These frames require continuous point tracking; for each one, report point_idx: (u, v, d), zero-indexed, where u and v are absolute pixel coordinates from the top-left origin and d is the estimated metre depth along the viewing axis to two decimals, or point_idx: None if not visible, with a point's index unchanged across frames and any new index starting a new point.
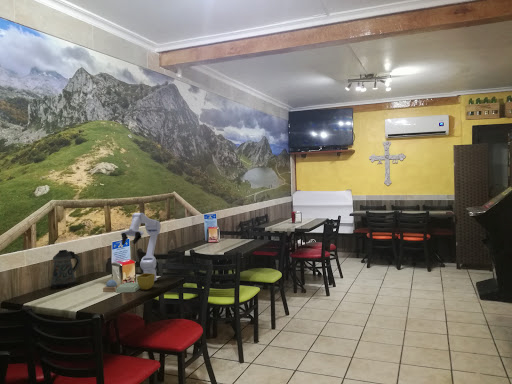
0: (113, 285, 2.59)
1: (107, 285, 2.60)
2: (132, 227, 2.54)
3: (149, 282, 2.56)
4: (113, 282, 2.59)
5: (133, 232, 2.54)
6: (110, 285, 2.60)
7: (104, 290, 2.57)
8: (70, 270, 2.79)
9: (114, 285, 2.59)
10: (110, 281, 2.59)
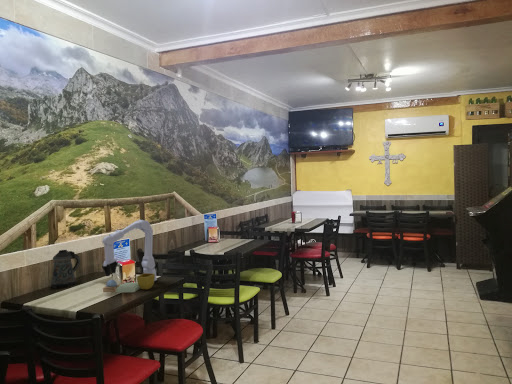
0: (113, 285, 2.59)
1: (107, 285, 2.60)
2: None
3: (149, 282, 2.56)
4: (113, 282, 2.59)
5: None
6: (110, 285, 2.60)
7: (104, 290, 2.57)
8: (70, 270, 2.79)
9: (114, 285, 2.59)
10: (110, 281, 2.60)
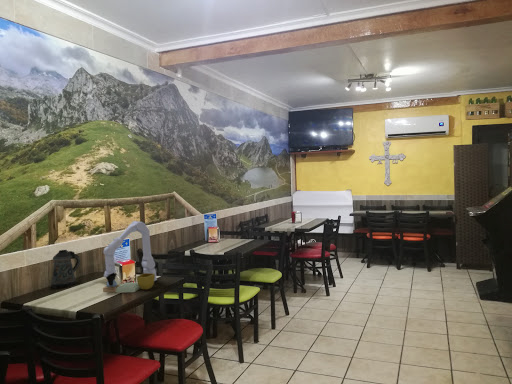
0: (113, 285, 2.59)
1: (107, 285, 2.60)
2: None
3: (149, 282, 2.56)
4: (113, 282, 2.59)
5: None
6: None
7: (104, 290, 2.57)
8: (70, 270, 2.79)
9: (114, 285, 2.59)
10: None
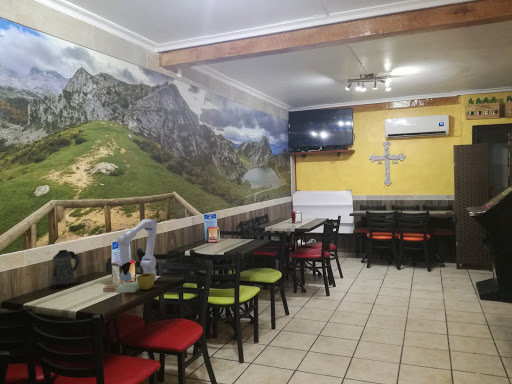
0: (127, 276, 2.58)
1: (121, 276, 2.58)
2: None
3: (149, 282, 2.56)
4: (128, 273, 2.58)
5: None
6: (124, 276, 2.58)
7: (104, 290, 2.57)
8: (70, 270, 2.79)
9: (128, 276, 2.58)
10: None
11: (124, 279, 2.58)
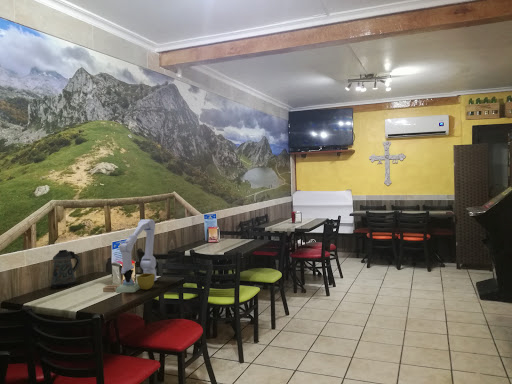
0: (130, 284, 2.58)
1: (124, 283, 2.58)
2: None
3: (149, 282, 2.56)
4: (130, 281, 2.58)
5: None
6: (127, 283, 2.58)
7: (104, 290, 2.57)
8: (70, 270, 2.79)
9: (131, 284, 2.58)
10: None
11: None
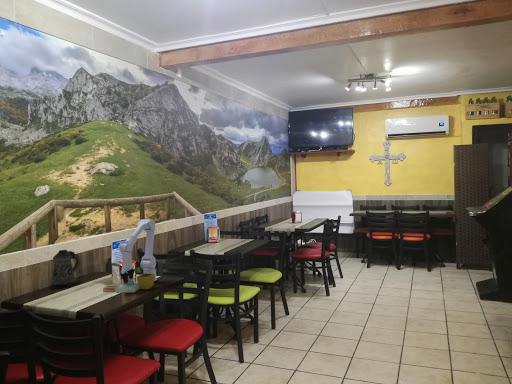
0: (130, 284, 2.58)
1: None
2: None
3: (149, 282, 2.56)
4: (130, 281, 2.58)
5: None
6: (127, 283, 2.58)
7: (104, 290, 2.57)
8: (70, 270, 2.79)
9: (131, 284, 2.58)
10: None
11: None
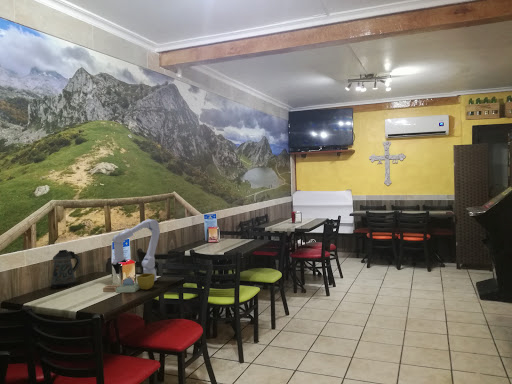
0: (130, 284, 2.58)
1: (124, 283, 2.58)
2: None
3: (149, 282, 2.56)
4: (130, 281, 2.58)
5: None
6: (127, 283, 2.58)
7: (104, 290, 2.57)
8: (70, 270, 2.79)
9: (131, 284, 2.58)
10: (127, 280, 2.58)
11: None
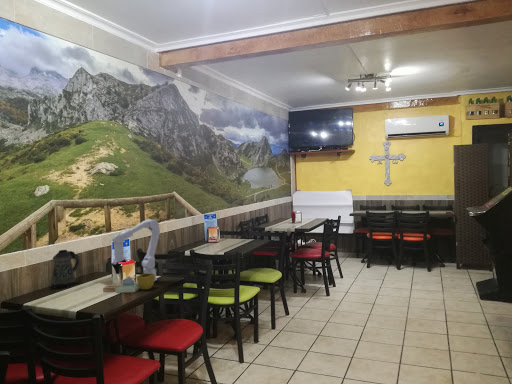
0: (130, 284, 2.58)
1: (124, 283, 2.58)
2: None
3: (149, 282, 2.56)
4: (130, 281, 2.58)
5: None
6: (127, 283, 2.58)
7: (104, 290, 2.57)
8: (70, 270, 2.79)
9: (131, 284, 2.58)
10: (127, 280, 2.58)
11: None
